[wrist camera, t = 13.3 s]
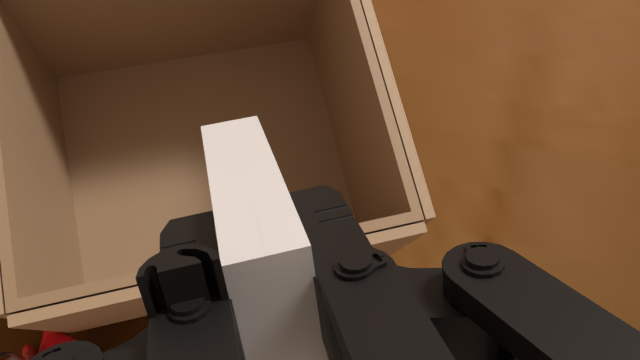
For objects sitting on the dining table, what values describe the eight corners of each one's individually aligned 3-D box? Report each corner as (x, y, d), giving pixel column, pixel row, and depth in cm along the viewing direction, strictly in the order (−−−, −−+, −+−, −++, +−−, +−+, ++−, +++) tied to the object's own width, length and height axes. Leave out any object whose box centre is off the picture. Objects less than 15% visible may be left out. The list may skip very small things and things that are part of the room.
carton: (319, 31, 50) (346, -82, 37) (382, 263, 45) (439, 228, 32) (40, 75, 46) (-44, -36, 33) (74, 336, 41) (-9, 331, 28)
